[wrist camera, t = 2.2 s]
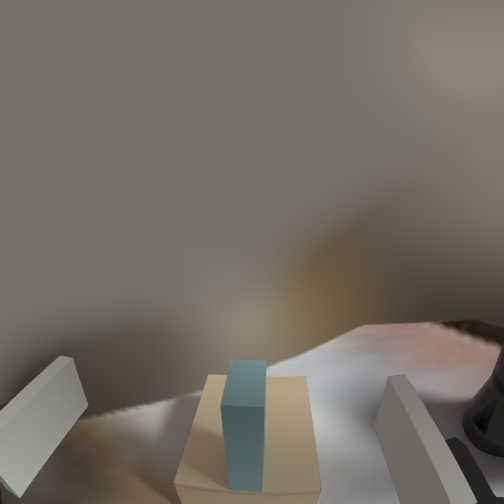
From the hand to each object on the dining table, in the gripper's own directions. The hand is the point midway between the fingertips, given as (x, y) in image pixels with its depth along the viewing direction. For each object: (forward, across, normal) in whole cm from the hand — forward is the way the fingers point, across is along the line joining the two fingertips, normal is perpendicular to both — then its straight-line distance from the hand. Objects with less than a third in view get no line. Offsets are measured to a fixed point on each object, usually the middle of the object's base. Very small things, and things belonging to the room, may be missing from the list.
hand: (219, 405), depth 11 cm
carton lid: (+17, 0, -19) cm, 25 cm away
